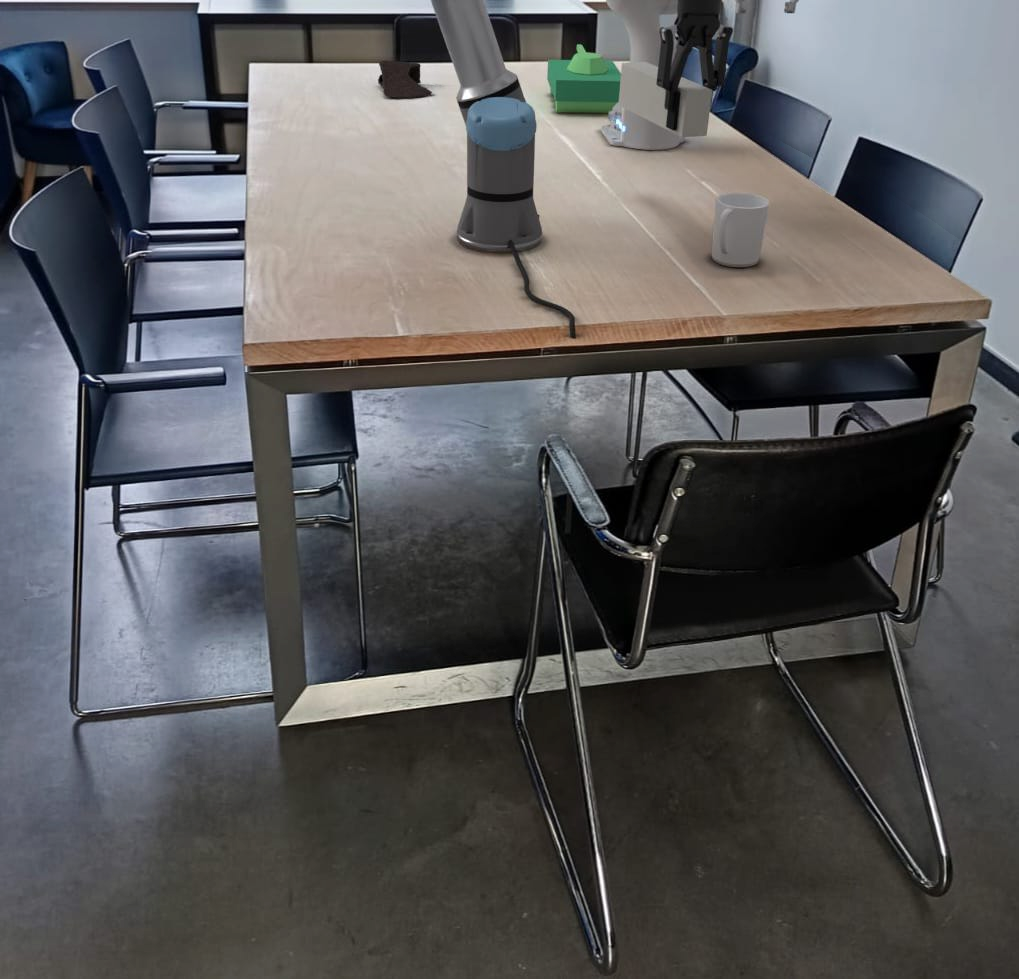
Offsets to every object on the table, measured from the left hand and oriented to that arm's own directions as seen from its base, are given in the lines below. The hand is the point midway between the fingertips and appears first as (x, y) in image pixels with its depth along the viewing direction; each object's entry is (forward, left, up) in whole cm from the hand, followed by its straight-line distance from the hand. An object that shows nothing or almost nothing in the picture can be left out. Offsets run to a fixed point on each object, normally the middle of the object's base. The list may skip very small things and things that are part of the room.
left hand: (685, 127), depth 199 cm
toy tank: (+99, +25, -17) cm, 104 cm away
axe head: (+101, +74, -17) cm, 126 cm away
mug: (-22, -9, -17) cm, 29 cm away
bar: (+8, +5, -1) cm, 10 cm away
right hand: (+17, -13, +18) cm, 27 cm away
